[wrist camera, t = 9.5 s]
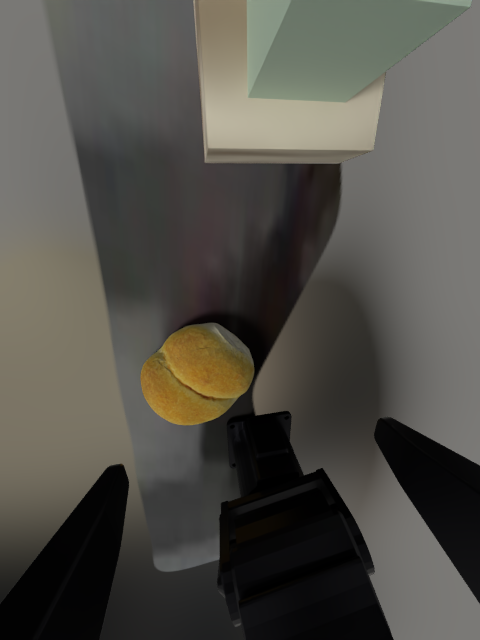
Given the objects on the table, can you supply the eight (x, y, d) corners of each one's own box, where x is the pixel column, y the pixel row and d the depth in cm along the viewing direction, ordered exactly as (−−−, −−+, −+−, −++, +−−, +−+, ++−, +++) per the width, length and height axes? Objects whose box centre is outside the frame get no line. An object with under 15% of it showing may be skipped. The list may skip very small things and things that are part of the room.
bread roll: (126, 378, 20) (111, 414, 16) (196, 302, 19) (197, 322, 15) (201, 421, 23) (202, 458, 20) (266, 359, 22) (281, 387, 18)
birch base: (338, 163, 16) (373, 150, 13) (205, 163, 15) (208, 148, 12) (361, -37, 13) (417, -121, 10) (188, -61, 11) (187, -169, 8)
